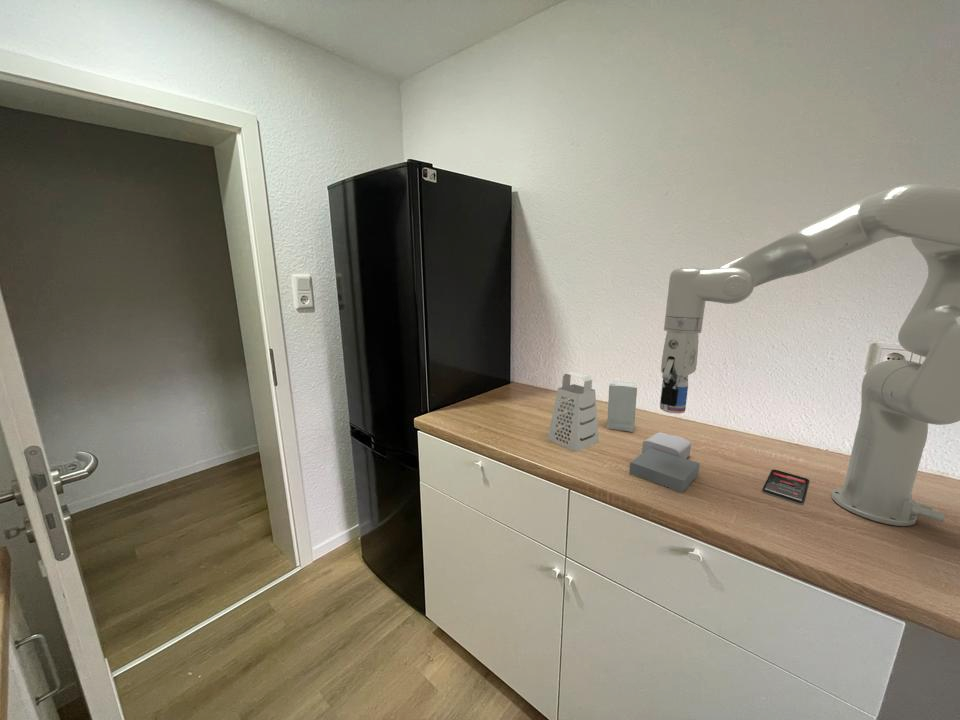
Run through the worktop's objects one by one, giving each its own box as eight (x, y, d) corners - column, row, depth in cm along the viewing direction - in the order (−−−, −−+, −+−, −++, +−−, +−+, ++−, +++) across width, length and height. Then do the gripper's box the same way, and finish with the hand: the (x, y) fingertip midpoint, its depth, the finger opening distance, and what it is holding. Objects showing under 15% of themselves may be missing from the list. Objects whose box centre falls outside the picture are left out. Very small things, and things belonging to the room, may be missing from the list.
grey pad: (698, 474, 94) (700, 463, 93) (681, 492, 85) (683, 480, 85) (648, 458, 102) (649, 447, 101) (629, 473, 93) (630, 462, 93)
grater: (576, 451, 105) (581, 381, 101) (547, 439, 113) (550, 373, 109) (598, 442, 111) (604, 375, 107) (569, 431, 119) (573, 368, 115)
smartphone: (809, 479, 92) (803, 504, 81) (809, 481, 92) (802, 507, 81) (772, 468, 97) (761, 491, 86) (771, 471, 97) (760, 493, 86)
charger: (697, 450, 107) (677, 468, 97) (663, 440, 114) (641, 455, 104) (699, 435, 106) (679, 450, 96) (665, 425, 113) (643, 439, 103)
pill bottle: (689, 411, 89) (695, 371, 87) (676, 415, 86) (681, 373, 84) (668, 405, 94) (672, 366, 92) (654, 408, 91) (659, 368, 89)
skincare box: (634, 426, 124) (638, 382, 121) (633, 433, 118) (638, 387, 115) (607, 422, 127) (611, 379, 124) (605, 428, 121) (609, 383, 118)
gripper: (688, 329, 77) (677, 414, 81) (712, 323, 89) (701, 398, 93) (650, 326, 83) (642, 406, 86) (678, 320, 94) (669, 391, 98)
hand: (673, 401), depth 90 cm, fingers closed on pill bottle, 5 cm apart
